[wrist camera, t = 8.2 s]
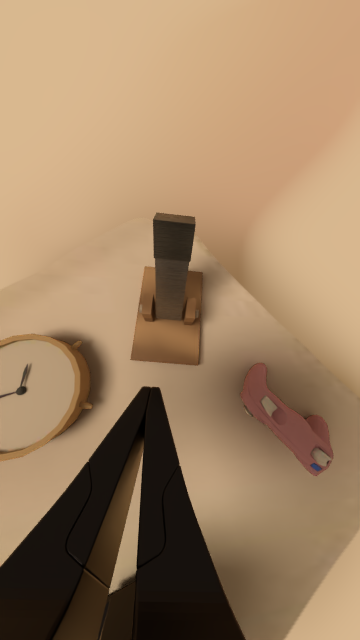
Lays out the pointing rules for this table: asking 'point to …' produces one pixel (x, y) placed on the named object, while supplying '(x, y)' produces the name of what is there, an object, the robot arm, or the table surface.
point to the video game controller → (288, 422)
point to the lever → (171, 262)
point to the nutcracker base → (168, 325)
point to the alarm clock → (39, 391)
